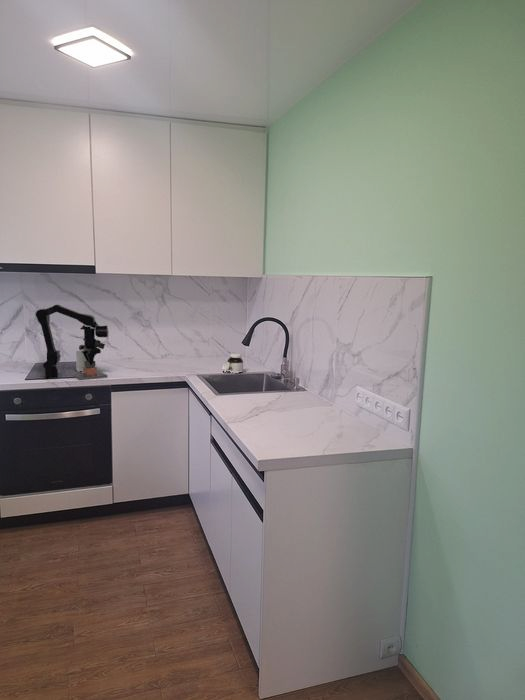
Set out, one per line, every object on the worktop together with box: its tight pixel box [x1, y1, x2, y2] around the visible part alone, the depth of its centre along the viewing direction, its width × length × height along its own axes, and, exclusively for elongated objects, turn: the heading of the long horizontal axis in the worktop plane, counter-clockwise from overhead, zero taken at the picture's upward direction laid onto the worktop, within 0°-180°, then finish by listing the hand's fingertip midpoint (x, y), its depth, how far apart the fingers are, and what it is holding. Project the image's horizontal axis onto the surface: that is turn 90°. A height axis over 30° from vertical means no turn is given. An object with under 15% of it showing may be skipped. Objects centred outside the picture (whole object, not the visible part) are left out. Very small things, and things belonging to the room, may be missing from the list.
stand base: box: [72, 365, 108, 381], centre depth 280 cm, size 16×12×6 cm
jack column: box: [85, 360, 96, 368], centre depth 280 cm, size 5×4×8 cm
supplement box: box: [75, 349, 86, 373], centre depth 298 cm, size 7×7×13 cm
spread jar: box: [221, 353, 244, 372], centre depth 308 cm, size 12×11×12 cm
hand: (90, 363), depth 280 cm, fingers closed on jack column, 4 cm apart
